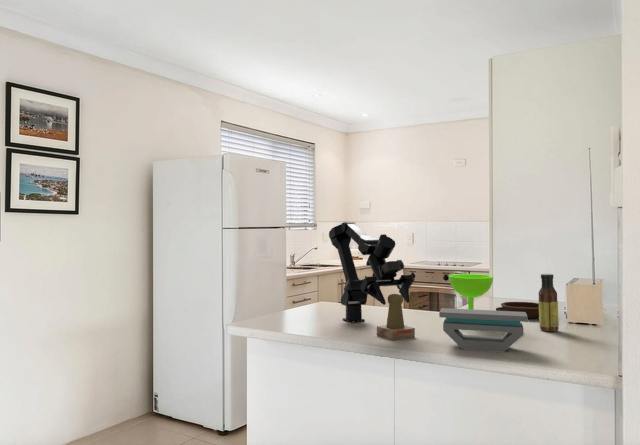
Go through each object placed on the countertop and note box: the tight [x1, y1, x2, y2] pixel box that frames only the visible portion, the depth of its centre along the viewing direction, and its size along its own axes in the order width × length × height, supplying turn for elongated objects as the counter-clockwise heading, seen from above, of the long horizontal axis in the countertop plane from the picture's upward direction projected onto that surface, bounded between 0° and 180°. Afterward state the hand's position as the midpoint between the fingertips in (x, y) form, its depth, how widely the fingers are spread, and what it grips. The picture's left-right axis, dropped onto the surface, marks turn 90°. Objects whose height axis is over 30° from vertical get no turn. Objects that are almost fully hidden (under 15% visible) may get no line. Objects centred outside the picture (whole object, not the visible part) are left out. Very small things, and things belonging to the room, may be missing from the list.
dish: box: [495, 301, 539, 320], centre depth 212 cm, size 18×22×5 cm
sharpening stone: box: [439, 307, 528, 353], centre depth 159 cm, size 25×8×11 cm, turn 73°
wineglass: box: [448, 273, 494, 310], centre depth 195 cm, size 16×16×18 cm
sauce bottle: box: [538, 273, 560, 333], centre depth 184 cm, size 7×6×20 cm
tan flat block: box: [376, 324, 416, 341], centre depth 175 cm, size 9×9×3 cm
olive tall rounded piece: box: [385, 293, 405, 329], centre depth 175 cm, size 6×6×11 cm
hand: (396, 303), depth 174 cm, fingers open, 9 cm apart
